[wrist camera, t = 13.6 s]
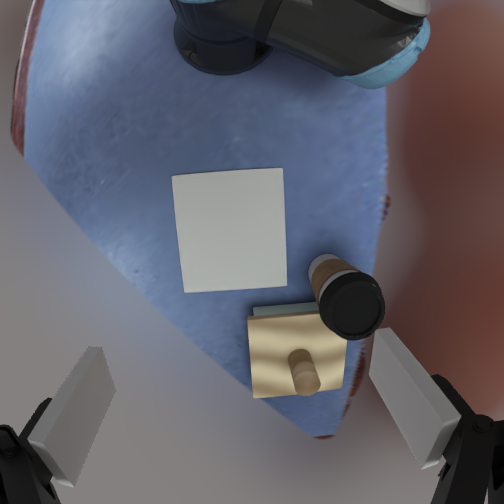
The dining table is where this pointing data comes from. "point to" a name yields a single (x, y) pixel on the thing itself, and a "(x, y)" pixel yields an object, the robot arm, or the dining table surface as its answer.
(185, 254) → the mat
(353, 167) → the dining table surface
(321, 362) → the lid
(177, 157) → the dining table surface
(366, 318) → the coffee cup
